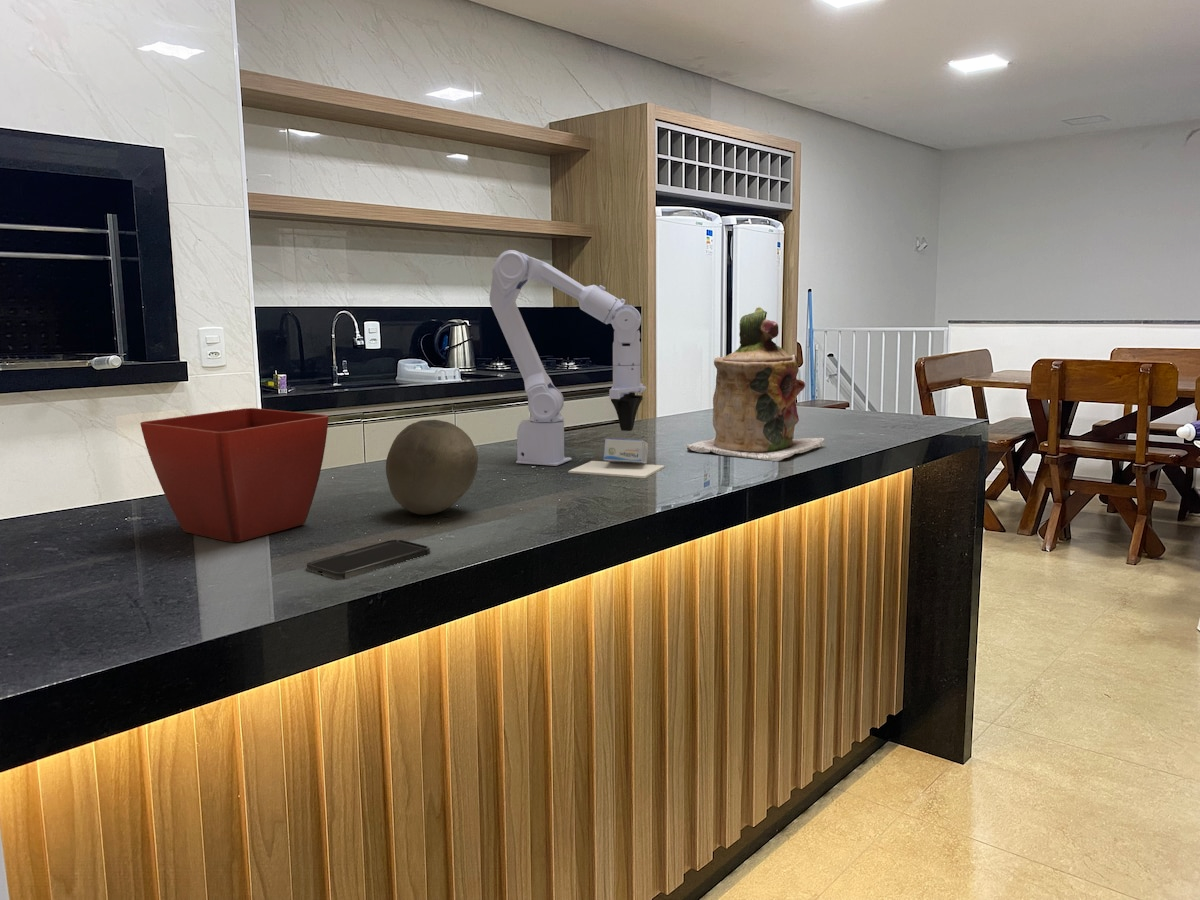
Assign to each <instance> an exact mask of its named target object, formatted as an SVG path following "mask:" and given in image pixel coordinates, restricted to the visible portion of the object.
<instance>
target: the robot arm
mask: <svg viewBox="0 0 1200 900" xmlns="http://www.w3.org/2000/svg"><path fill="white" fill-rule="evenodd" d="M491 274H492V277H491V282H490V283H491V284H490V285H491V286H490V292H489V303H490V306H491V308H492V311H493V313H494V316H495V317H496V319H497V322H498V325H499V327H500V329H501V332H502V333H503V336H504V338H505V340H506V344H507V345H508V348H509V350H510V353H511V354H512V356H513V359H514V362H515V364H516V365H517V368H518V370H519V373H520V375H521V377H522V379H523V382H524V383H523V384H524V391H525V393H526V396H527V399H528V400H527V403H528V404H527V406H528V407H527V409H528V411H529V413H530V415H531V416H529V417H528V419H523V420H521V421H520V422H519V424H518V426H517V431H516V442H517V443H516V444H517V445H516V446H517V447H516V448H517V452H516V453H517V454H516V455H517V460H515V463H516V464H525V465H538V466H539V465H540V466H554V467H557V466H559V465H562V464H565V463H566V462H569V461H572V459H573V458H572V457H570V456H569V457H567V456H565V418H564V416H562V415H561V411H562V410H563V407H564V405H565V404H564V403H565V400H564V399H565V398H564V395H563V393H562V392H561V391H560V390H559V389H558V388H557V387H556V386H555V385H554V383H553V381H552V378H551V377H550V376H549V374H548V373H547V372H546V369H545V368H544V365H543V362H542V361H541V358H540V356H539V353H538V351H537V349H536V347H535V346H536V345H535V344H534V342H533V340H532V337H531V335H530V332H529V331H528V328H527V326H526V323H525V321H524V319H523V316H522V314H521V311H520V310H519V308H518V305H517V303H516V302H517V299H518V297H519V294H520V292H521V290H522V287H524V285H525V284H527V282H529V281H530V282H531V281H533V282H544V283H546V284H548V285H549V286H551V287H553V288H555V289H557V290H559V291H560V292H562V293H564V294H566V295H568V296H570V297H572V298H573V299H575V300H577V302H578V305H579V310H581V311H583V312H584V313H586V314H587V315H589V316H591V317H593V318H594V319H596V320H598V321H600V322H601V323H603V324H605V325H609V324H611V326H612V328H613V342H612V386H611V388H610V389H609V391H608V392H609V397H608V398H609V400H610V401H611V403H612V405H613V407H614V410H615V412H616V414H617V418H618V424H619V427H620V430H621V432H631V431H633V430H634V425H635V420H636V417H637V413H638V410H639V408H640V404H641V403H642V400H643V395H638V393H639V394H640V393H643V392H644V391H645V390H647V386H645V385H644V384H643V382H642V380H641V377H642V376H641V375H642V374H641V370H642V369H641V368H642V365H641V364H642V362H641V361H642V360H641V359H642V358H641V355H642V354H641V353H642V352H641V351H642V350H641V348H642V344H641V341H640V339H641V332H640V326H641V323H642V315H641V313H640V311H639V310H638V309H637V308H635V307H634V306H633V305H631V304H625V303H626V299H624V298H621V299H619V298H618V297H616V296H615V295H613V294H611V293H609V292H608V291H606V290H607V288H606V287H605V286H603V284H602V285H601V284H600V285H599V286H598V285H596V284H592V285H591V284H590V285H587V286H585V285H583V284H581V282H578V281H576V280H575V279H573V278H572V277H570V276H569V275H567V274H565V273H564V272H563V271H560V270H559V269H557V268H555V266H553V265H551V264H550V263H548V262H547V261H546V262H545V261H543V260H541V259H538V258H535V257H533V256H529V255H528V254H526V253H524V252H520V251H517V250H514V249H509V250H505V251H503V252H502V253H500V254H499V256H498V257H497V259H496V261H495V263H494V265H493V266H492V268H491ZM641 382H642V383H641Z"/></svg>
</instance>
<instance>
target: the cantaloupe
mask: <svg viewBox="0 0 1200 900" xmlns="http://www.w3.org/2000/svg"><path fill="white" fill-rule="evenodd" d="M478 454H479V453H478V450H477V449H476V447H475V445H474V443H473V440H472V439H471V437H470V436H469V435H468V434H467V432H465V431H464V430H463V429H462V428H460V427H459V426H458V425H456V424H454V423H451V422H448V421H445V420H444V421H443V420H440V419H425V420H423V419H422V420H419V421H416V422H413V423H411V424H409V425H407V426H406V427H405V428H404V429H402V430H401V431H400V432H399V433H398V434H397V435H396V437H395V438H394V440H393V441H392V443H391V446H390V448H389V451H388V454H387V456H386V460H385V473H386V474H385V475H386V480H387V484H388V487H389V490H390V494H391V495H392V497H393V498H394V500H395V502H397V504H398V505H400V506H401V508H403V509H405V510H407V511H409V512H411V513H414V514H416V515H421V516H428V515H434V514H438V513H440V512H441V513H442V511H443V512H444V511H445V510H446V509H449V508H450V507H453V506H454V505H455V504H456V503H457V502H458V501H459V500H460V499H462V497H463V496H464V495H465V494H466V493H467V492H468V491H469V489H470V488H471V486H472V484H473V483H474V480H475V477H476V475H477V472H478V467H479V455H478Z"/></svg>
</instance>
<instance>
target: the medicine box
mask: <svg viewBox="0 0 1200 900" xmlns="http://www.w3.org/2000/svg"><path fill="white" fill-rule="evenodd" d="M603 446H604V447H603V455H602V456H603V457H602V458H603V460H604V461H605V462H618V463H633V464H648V455H649V454H648V453H649V443H648V442H646V441H644V440H643V439H624V438H607V437H606V438H604V444H603Z"/></svg>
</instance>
